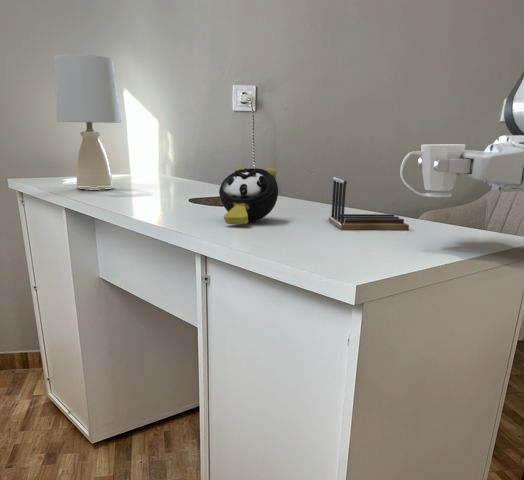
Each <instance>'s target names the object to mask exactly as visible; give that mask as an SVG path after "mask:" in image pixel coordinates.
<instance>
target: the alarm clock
mask: <svg viewBox="0 0 524 480" xmlns="http://www.w3.org/2000/svg"><path fill="white" fill-rule="evenodd" d="M276 177H277V171H276V169H274V168H273V167H268V168H266V169H263V168H258V167H257V168H253V167H250V168H246V167H238V168H237V169H235V170H234V172H232V173H231V174H229V175H228V176H227V177H226V178H224V179H223V180H222V182H221V184H220V187H219V190H218V195H219V198H220V199H219V200H220V201H221V203H222V206H223V207H224V209H225V210H226V211H227V212H226V213H225V214H224V215H223V219H224V221H225V224H227V225H246V224H248V223H249V222H256V221H260V220H262V219H263V218H265V217H266V216H268V215H269V214H270V213H271V212H272V211H273V209H274V208H275V206H276V204H277V201H278V197H279V185H278V182H277V178H276Z"/></svg>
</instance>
